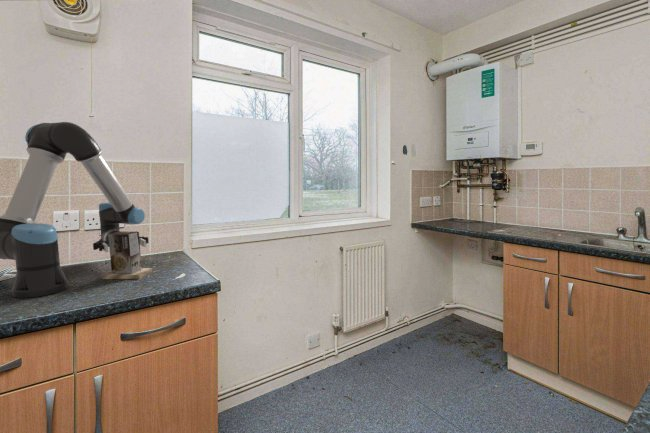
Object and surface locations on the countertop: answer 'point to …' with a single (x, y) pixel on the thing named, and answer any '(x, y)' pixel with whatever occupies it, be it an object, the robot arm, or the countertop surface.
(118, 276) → the birch board
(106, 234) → the robot arm
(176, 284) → the countertop surface
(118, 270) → the coffee box
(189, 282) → the countertop surface
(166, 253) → the countertop surface
